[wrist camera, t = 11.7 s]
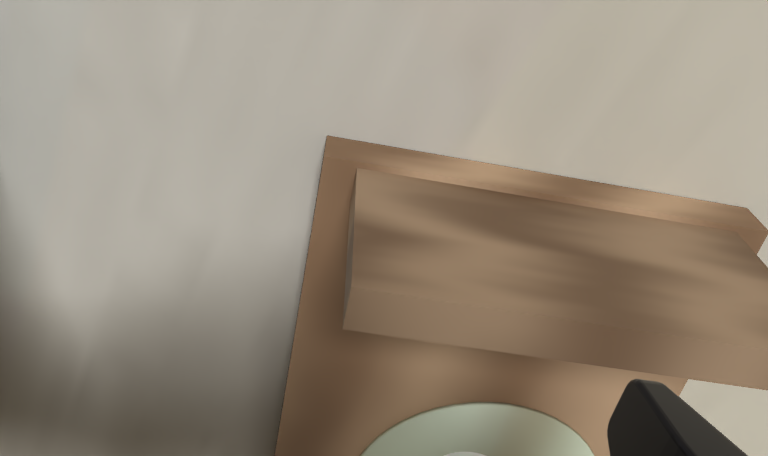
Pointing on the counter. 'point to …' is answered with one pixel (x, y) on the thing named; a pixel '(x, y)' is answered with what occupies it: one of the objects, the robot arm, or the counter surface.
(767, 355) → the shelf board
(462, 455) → the white tall rounded piece
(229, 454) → the counter surface
